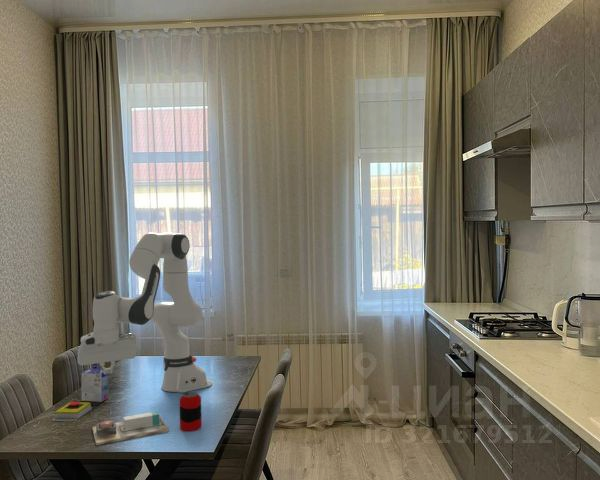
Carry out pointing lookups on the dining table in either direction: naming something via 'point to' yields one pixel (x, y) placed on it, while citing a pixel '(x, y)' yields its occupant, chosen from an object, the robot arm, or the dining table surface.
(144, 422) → the marker
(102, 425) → the button
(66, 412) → the emergency button
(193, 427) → the soda can
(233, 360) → the dining table surface
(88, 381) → the ink cartridge box
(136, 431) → the board
